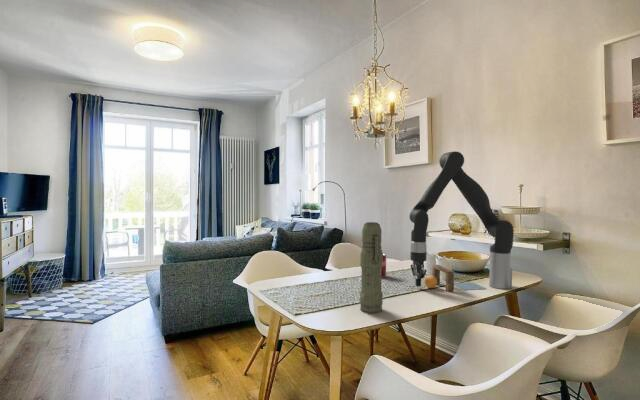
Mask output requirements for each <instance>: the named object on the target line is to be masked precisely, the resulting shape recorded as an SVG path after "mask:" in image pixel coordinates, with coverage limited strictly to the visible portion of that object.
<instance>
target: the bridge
mask: <svg viewBox="0 0 640 400" xmlns="http://www.w3.org/2000/svg"><path fill="white" fill-rule="evenodd" d="M441 272H442V273H444V274H445V292H447V293H453V292H455V285H454V283H455V271H454V270H451V269H450V268H447V267H445V266H442V265H440V264H432V276H433V277H435V278H436V279H437V285H439V284H440V285H441V283H440V282H441ZM437 285H436V286H437Z"/></svg>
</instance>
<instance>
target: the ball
mask: <svg viewBox="0 0 640 400" xmlns="http://www.w3.org/2000/svg"><path fill="white" fill-rule="evenodd" d="M424 278H425V279H424V285H425V287H427V288H428V289H434V288H436V287H437V279H436V278H435V277H433V275H427V276H426V277H424Z"/></svg>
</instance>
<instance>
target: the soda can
mask: <svg viewBox="0 0 640 400" xmlns="http://www.w3.org/2000/svg"><path fill="white" fill-rule="evenodd" d="M386 276H387V255H386V254H385V253H383V267H382V269H381V279H382V278H386Z"/></svg>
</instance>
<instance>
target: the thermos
mask: <svg viewBox="0 0 640 400" xmlns="http://www.w3.org/2000/svg"><path fill="white" fill-rule="evenodd" d="M361 242H362V245H361V250H360V261H359V262H360V263H359V264H360V265H359V266H360V268H361V281H360V283H361V287H360V288H361V290H360V292H359V304H360V311H361V313H365V314H373V315H374V314H380V313H381V312H383V302H384V300H383V291H382V278H381V269H382V267H383V254H384V252H383V250H382V228H381V225H380V223H379V222H375V221H374V222H373V221H369V222H368V221H367V222H365V223H363V226H362V230H361Z"/></svg>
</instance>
